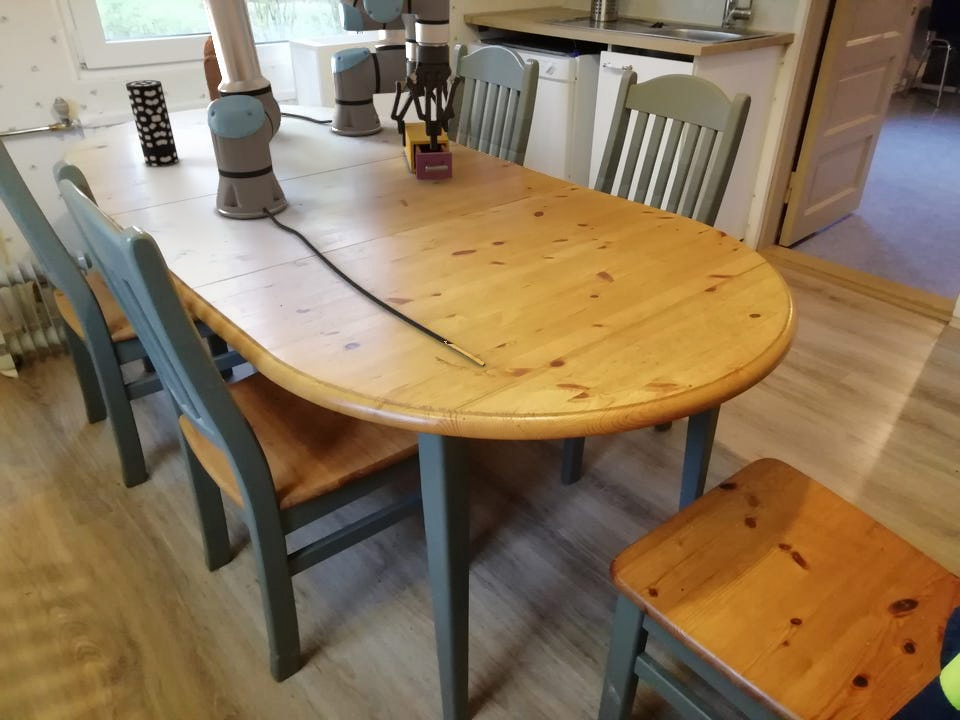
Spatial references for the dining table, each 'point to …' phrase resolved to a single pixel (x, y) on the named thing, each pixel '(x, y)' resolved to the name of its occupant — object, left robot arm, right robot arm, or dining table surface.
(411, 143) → the cabinet
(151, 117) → the black white spotted cylinder
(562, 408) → the dining table surface
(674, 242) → the dining table surface
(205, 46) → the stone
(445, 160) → the drawer
